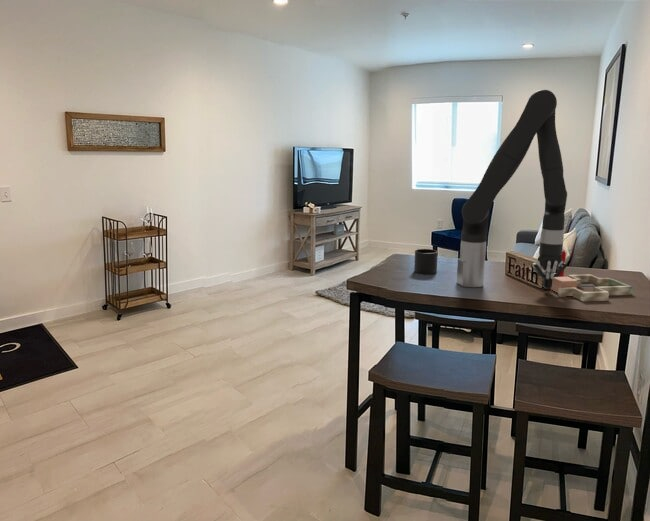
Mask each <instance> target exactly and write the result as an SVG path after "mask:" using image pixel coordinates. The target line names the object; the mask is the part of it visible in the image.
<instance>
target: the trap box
mask: <svg viewBox="0 0 650 521" xmlns="http://www.w3.org/2000/svg"><path fill="white" fill-rule="evenodd" d="M567 277H570V278H572V279H574V280H577V288H575V287H571V288H559V290H558V293H557V297H559V298H563V297H565V298H567V297H566V296H573V297H572V298H575V299H577V300H579V301H581V302H601V301H603V302H605V301H606V302H608V301H609V296H630V295H631V296H632V294H633V290H634V286H633V285H630V284H628V283H624V282H622V281H620V280H616V279H614V278H611V277H598V276H596V275H593V274H567ZM581 287H593V288H592V291H584V290H582V289H579V288H581Z"/></svg>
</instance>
